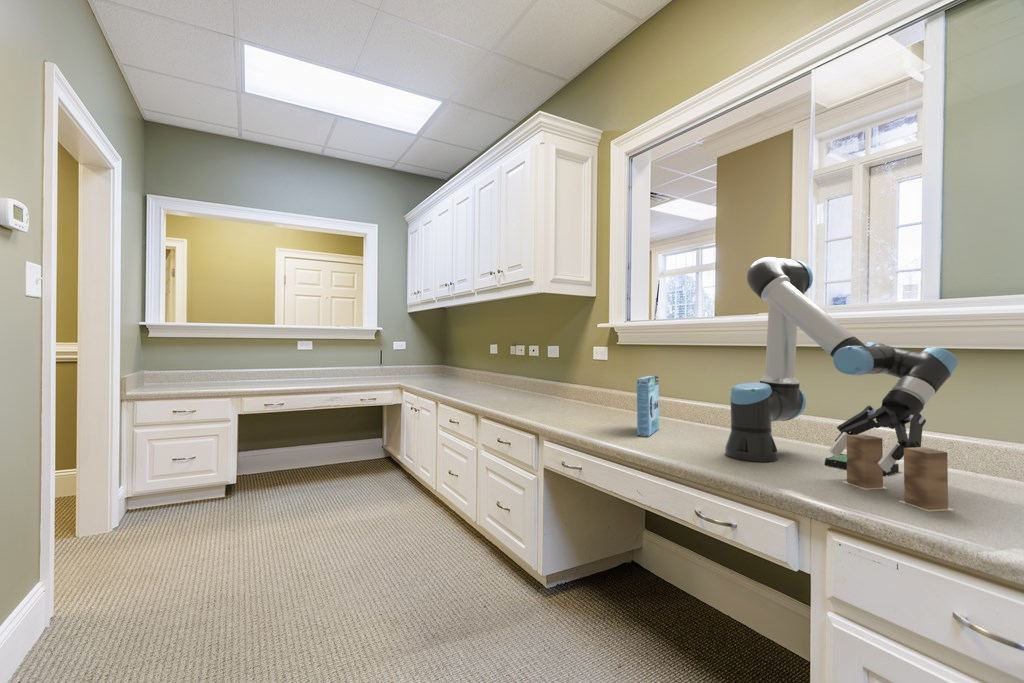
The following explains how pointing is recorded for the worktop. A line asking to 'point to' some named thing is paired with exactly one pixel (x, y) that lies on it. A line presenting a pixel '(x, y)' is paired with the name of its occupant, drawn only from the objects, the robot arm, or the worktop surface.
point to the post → (864, 461)
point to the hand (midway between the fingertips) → (856, 460)
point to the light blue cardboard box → (647, 405)
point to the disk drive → (842, 463)
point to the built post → (926, 478)
